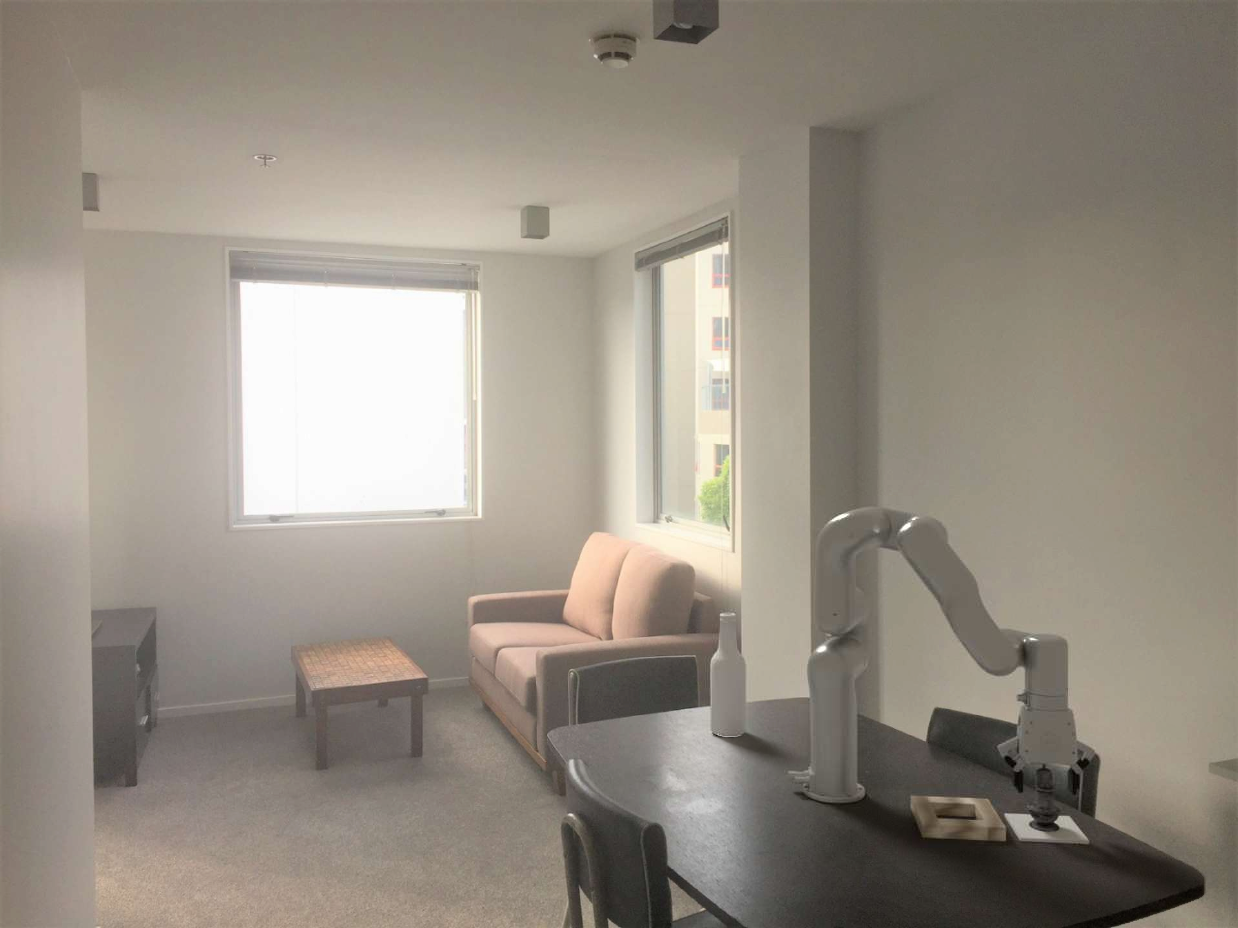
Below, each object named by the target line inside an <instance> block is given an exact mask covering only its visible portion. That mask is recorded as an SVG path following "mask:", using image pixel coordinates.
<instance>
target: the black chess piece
mask: <svg viewBox="0 0 1238 928" xmlns="http://www.w3.org/2000/svg"><path fill="white" fill-rule="evenodd" d="M1041 766H1042V767H1039V768H1037V769H1036V770H1035V784H1034V785H1033V788H1034V789H1035V799H1034V801H1032V802H1029V803H1028V804H1027V809H1028V810H1029V811H1028V812H1029V814H1030V815H1031V816H1032V817H1033V819H1034V820H1033V821H1031V822H1030V823H1029V826H1030V827H1031V828H1033V829H1035V830H1039V831H1043V832H1055V831H1058V830H1059V829H1060V828H1059V826H1058V825H1057V824H1056V823H1054V822H1055V821H1056V820H1057V819H1058V817H1059V816H1060V813H1061V812H1062V808H1061V807H1060V806H1058V805H1057V804H1055V803H1054V793H1053V792H1054V791H1056V790H1055V787H1054V786H1053V772H1052V770H1051V769H1049V768H1048V767H1046V766H1047V765H1046V764H1041Z"/></svg>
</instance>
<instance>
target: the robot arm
mask: <svg viewBox="0 0 1238 928" xmlns="http://www.w3.org/2000/svg"><path fill="white" fill-rule="evenodd" d="M948 542H949V535H948V531H947V528H946V527H945V525H944V524H943V523H942V522H941V520H940V521H939V520H938V519H937V518H935V517H932V516H928V515H922V514H916V513H913V512H912V513H911V512H906V511H903V510H902V511H899V510H896V509H891V508H885V507H880V506H865V507H861V508H855V509H852V510H849V511H845V512H843V513H841V514H839V515H837V516H836V517H834V518H832V519H831V520H829V521H828V522H827V523H826V524H825V525H824V527H822V529H821V531H820V532H819V534H818V536H817V539H816V544H815V551H814V552H815V553H814V555H815V557H814V562H815V563H814V580H813V582H814V583H813V585H814V587H813V612H812V613H813V615H812V616H813V621H814V625H815V626H816V628H817V629H818V631H820V632H821V633H822V634H823V635H825V642H824V643H822V644H820V645H818V646H817V647H816V648H815V649H814V650H812V653H811V654H810V656H809V659H808V660H807V666H806V674H807V675H806V676H807V683H808V690H809V703H810V705H809V707H810V708H809V710H810V711H809V713H810V714H809V718H810V719H809V720H810V722H809V723H810V725H809V726H810V730H809V731H810V734H809V735H810V737H809V738H810V766H808V768H807V769H808V770H803V771H795V770H788V781H794V784H798V785H799V784H803V785H802V792H803V793H804V795H805V796H807V797H808V798H811V799H813V800H815V801H819V802H823V803H829V804H830V803H831V804H848V803H849V804H851V803H855V802H858V801H861V800H862V799H864V798H865V795H866V790H865V788H864V786H863V785H862V784H860V783H858V704H857V703H858V702H857V695H856V689H855V688H856V687H855V680H856V679H857V678H858V677H859V676H861V675H862V674H863V673H864V672H865V670H866V669H867V667H868V664H869V659H870V637H871V633H870V632H871V607H870V603H869V601H868V598H867V596H866V594H865V593H864V592H863V591H862V590H861V589H860V588H858V587H857V577H858V576H857V575H858V571H857V570H858V569H857V562H856V561H857V560H856V558H857V555H858V553H860V552H864V551H866V550H870V549H874V548H881V549H885V550H891V551H895V552H899V553H900V554H901V556H902V557H903V558H904V560H905V561H906V562H907V564H908V565H909V566H910V567H911V569H912V570H913V572H915V574H916V575H917V577H918V578H919V579H920V580H921V582H922V584H924V586H925V587H926V589H927V590H928V591H929V592H930V594H932V596H933V598H934V599H935V600H936V601H937V604H938V605H939V607H940V609H941V611H942V614H943V615H944V617H945V619H946V621H947V622H948V624H949V626H950V628H951V629H952V631H953V633H954V634H955V636H956V637H957V639H958V641H959V642H960V643H961V645H962V647H964V649H965V650H966V651H967V653H968V654H969V655H970V657H971V658H972V659H973V660H974V662H975V663H976V665H977V666H979V668H981V669H982V670H983V671H984V672H985V673H986V674H988V675H991V676H994V677H999V678H1000V677H1007V676H1009V675H1012V673H1014V672H1015V671H1016V670H1017V669H1018V668H1023V669H1024V689H1023V692H1022V693H1020V694H1019V693H1017V694H1016V701H1017V702H1021V703H1023V704H1024V705H1021V706H1020V710H1019V714H1018V718H1017V726H1016V736H1014V737H1012V738H1010V739H1008V740H1006V741H1004V742H1002V743H1000V744H998V745H997V750H998V751H999V753H1000V755H1001V757H1002V759H1003V761H1005V762H1006V764H1007V765H1008V766H1009V767H1011V769H1012V778H1011V779H1012V786H1013V787H1014V788H1015V790H1016V791H1017V792H1018V793H1019V794H1023V793H1024V772H1023V770H1022V769H1023V768H1024V766H1025V765H1026V764H1030V765H1043V764H1045V765H1046V766H1048V765H1051V766H1053V765H1054V766H1055V765H1056V766H1069V768H1068V770H1067V791H1069V792H1070V793H1071V795H1072V796H1077V794H1078V793H1077V792H1078V790H1079V789H1080V775H1081V774H1082V773H1083V770H1085V768H1087V767H1088V766H1089V765H1090V762H1091V761H1092V759H1093V757H1094V755H1095V754H1096V751H1095V749H1093V748H1092V747H1091V746H1089V745H1087V744H1085V743H1084V742H1081V741H1079V740H1078V738H1077V729H1076V721H1075V716H1074V715H1075V714H1074V711H1073V710H1072V709H1071V708H1069V644H1068V641H1067V639H1066V638H1064V637H1063V636H1061V635H1057V634H1049V633H1029V632H1025V631H1020V630H1015V629H1012V628H999V626H998V625H997V623H996V622H995V621H994V619H993V618H992V616H991V615H990V614H989V612H988V611H987V609H986V607H985V605H984V603H983V601H982V598H981V595H980V590H979V585H978V583H977V580H976V578H975V576H974V574H973V573H972V572H971V571H970V569H969V568H968V566H966V564H965V563H964V561H963V560H962V559H961V558H960V557H959V555H958V554H957V553H956V552H955V550H954V549H953V548H952V547H951V545H950V544H949V543H948ZM1013 748H1015V752H1016V754H1017V755H1016V756H1015V757H1014V758H1012V757H1011V756H1010V754H1009V750H1012V749H1013ZM1078 750H1079V751H1082V752H1083V754H1082V756H1081V757H1080V758H1079V759H1078V753H1079V751H1078Z"/></svg>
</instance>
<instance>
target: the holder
mask: <svg viewBox="0 0 1238 928" xmlns="http://www.w3.org/2000/svg"><path fill="white" fill-rule="evenodd" d="M910 810H911V813H912V815H913V817H914V820H915V822H916V824H917V827H918V829H919V832H920V835H921V836H922V838H928V839H947V840H948V839H949V840H950V839H951V840H952V839H953V840H970V841H971V840H973V841H974V840H975V841H992V842H993V841H996V842H1007V827H1006V825H1005V824H1004V822H1003V820H1002V819H1001V817H1000V815H999V814H998V812H997V811H996V809H995V808H994V806H993V805H992V803H991V802H990V800H989V799H988V798H975V797H974V798H973V797H953V796H927V795H910ZM937 816H948V817H949V816H953V817H972V818H975V819H962V818H958V819H957V818H938V817H937Z"/></svg>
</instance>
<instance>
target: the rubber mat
mask: <svg viewBox="0 0 1238 928" xmlns="http://www.w3.org/2000/svg"><path fill="white" fill-rule="evenodd" d="M1004 818H1005V820H1006V822H1007V823H1008V824H1009V826H1010V828H1011V829H1012V830H1013V832H1014V833H1015V835H1016V837H1017V838H1018V840H1019V842H1029V843H1030V842H1031V843H1032V842H1034V843H1056V844H1074V843H1075V844H1076V845H1077V844H1079V843H1080V844H1081V845H1083V844H1084V845H1090V840H1089V839H1088V837H1087V836H1086V835H1085V834H1084V832H1082V830H1081V829H1080V827H1078V825H1077V824H1076V823H1075V822H1074V820H1073V818H1071V817H1070V816H1069V815H1059V817H1058V819H1057V820H1056V821H1055V822H1054V823H1056V824H1057V825H1058V826H1059V828H1060V829H1059V830H1058V831H1055V832H1043V831H1039V830H1035V829H1033V828H1031V827H1030V826H1029V823H1030V822H1031V821H1033V820H1034V819H1033V817H1032V816H1031V815H1030V813H1028V814H1027V813H1004ZM1080 844H1079V845H1080Z"/></svg>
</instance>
